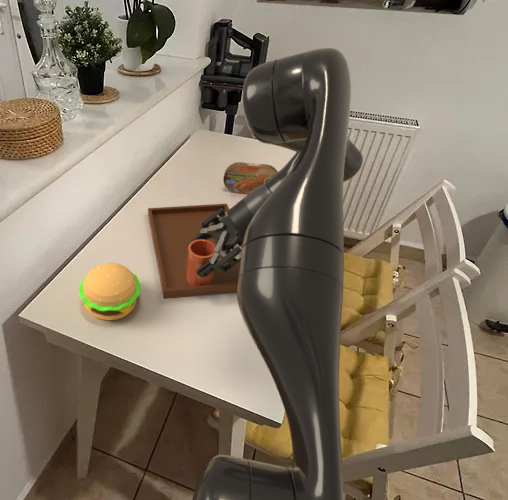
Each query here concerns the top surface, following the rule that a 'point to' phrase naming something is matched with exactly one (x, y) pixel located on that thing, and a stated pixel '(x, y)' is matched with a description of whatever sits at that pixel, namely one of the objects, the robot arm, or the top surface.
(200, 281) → the reddish brown cup
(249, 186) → the tin
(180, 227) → the tray
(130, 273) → the hamburger
